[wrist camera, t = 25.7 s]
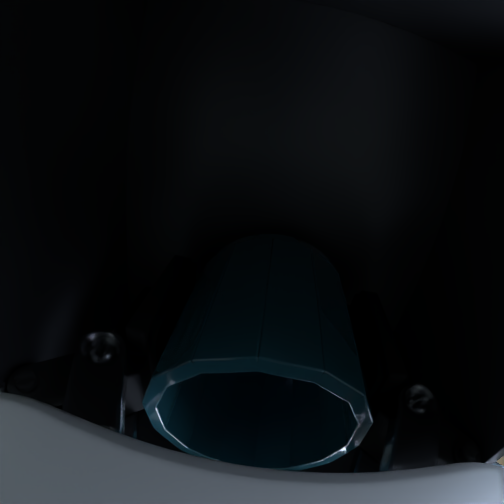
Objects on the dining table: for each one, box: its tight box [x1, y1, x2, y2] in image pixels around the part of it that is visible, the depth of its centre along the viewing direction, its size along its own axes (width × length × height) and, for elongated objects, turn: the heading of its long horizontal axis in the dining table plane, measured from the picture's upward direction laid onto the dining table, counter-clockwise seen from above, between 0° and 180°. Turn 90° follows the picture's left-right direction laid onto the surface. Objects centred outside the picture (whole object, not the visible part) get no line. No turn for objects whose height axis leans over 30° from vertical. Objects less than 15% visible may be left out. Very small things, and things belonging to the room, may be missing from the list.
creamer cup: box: [142, 234, 374, 471], centre depth 9 cm, size 5×6×6 cm
